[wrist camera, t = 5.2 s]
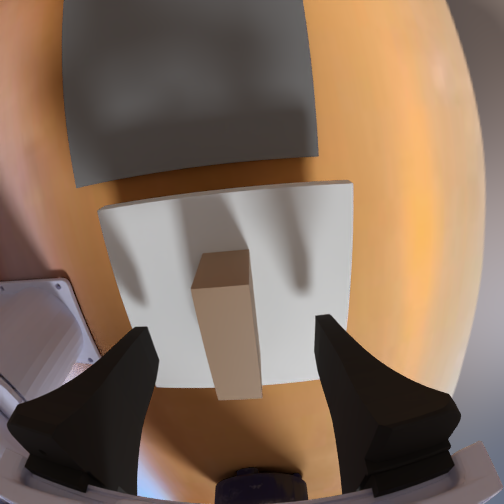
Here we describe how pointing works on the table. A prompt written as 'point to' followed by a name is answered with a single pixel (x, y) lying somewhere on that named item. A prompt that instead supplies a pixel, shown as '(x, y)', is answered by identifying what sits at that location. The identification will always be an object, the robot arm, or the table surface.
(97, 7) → the mat
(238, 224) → the lid
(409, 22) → the table surface
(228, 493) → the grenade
